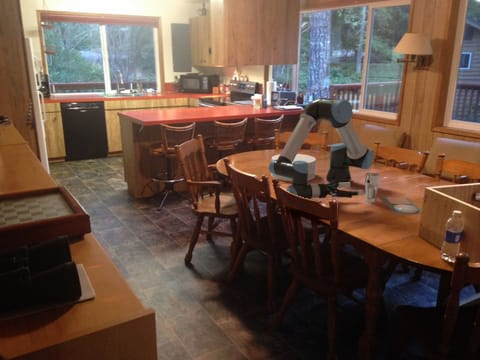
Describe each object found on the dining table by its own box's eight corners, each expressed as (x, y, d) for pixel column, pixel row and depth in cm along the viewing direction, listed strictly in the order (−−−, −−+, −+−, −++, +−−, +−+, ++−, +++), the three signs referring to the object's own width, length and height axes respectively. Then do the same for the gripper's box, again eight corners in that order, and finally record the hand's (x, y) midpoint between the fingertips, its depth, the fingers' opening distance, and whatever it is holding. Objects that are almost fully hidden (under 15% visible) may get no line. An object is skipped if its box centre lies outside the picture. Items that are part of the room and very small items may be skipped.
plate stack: (314, 182, 252) (315, 164, 249) (268, 180, 258) (268, 162, 254) (315, 171, 279) (316, 154, 275) (274, 169, 284) (274, 152, 281)
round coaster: (398, 213, 200) (398, 211, 200) (390, 205, 211) (391, 204, 211) (421, 213, 200) (421, 212, 200) (412, 206, 210) (413, 204, 210)
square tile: (391, 205, 212) (391, 203, 212) (385, 198, 221) (385, 197, 221) (411, 205, 211) (411, 203, 211) (404, 199, 221) (404, 197, 221)
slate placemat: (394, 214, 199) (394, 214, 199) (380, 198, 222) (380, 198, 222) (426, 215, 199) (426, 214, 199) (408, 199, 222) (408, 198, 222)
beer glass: (374, 199, 221) (377, 172, 217) (379, 203, 215) (382, 175, 211) (361, 199, 221) (364, 172, 217) (365, 204, 214) (368, 176, 210)
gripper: (308, 190, 222) (344, 188, 226) (327, 206, 199) (367, 203, 203) (308, 177, 220) (345, 175, 224) (328, 191, 196) (369, 188, 201)
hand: (356, 188), depth 214 cm, fingers open, 13 cm apart
